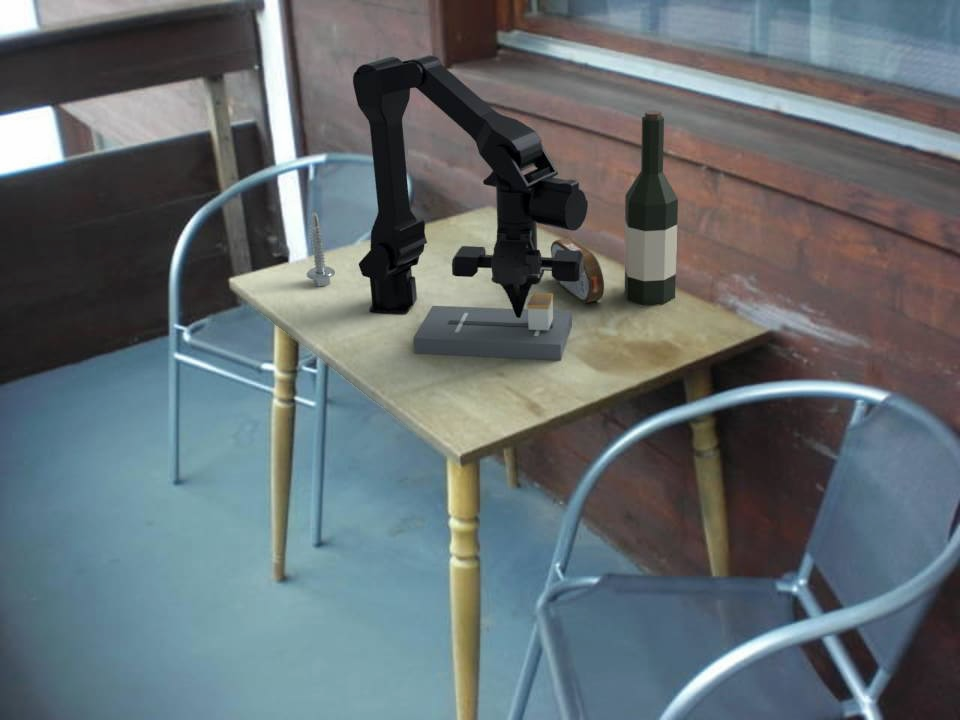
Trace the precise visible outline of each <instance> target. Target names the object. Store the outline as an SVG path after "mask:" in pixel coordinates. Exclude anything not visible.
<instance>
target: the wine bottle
mask: <svg viewBox="0 0 960 720" xmlns="http://www.w3.org/2000/svg"><path fill="white" fill-rule="evenodd" d="M664 132H665V117H664V116H663V115H662V112H661V110H655V109H654V110H652V109H651V110H647V111H645V112H644V116H642V117H641V153H640V154H641V155H640V156H641V159H640V166H641V167H640V169H641V170H640V172H639V173H638V175H637V176H636V178H635V179H634V181H633V183H632V184H631V186H630V187H629V189H628V190H627V192H626V193H625V196H624V197H625V203H624V204H625V206H624V208H625V210H624V212H625V213H624V214H625V215H624V216H625V217H624V223H625V224H624V228H625V229H624V296H625V298H626V301H627V302H631V303H635V304H637V305H641V306H655V305H657V304H660V305H665V304H667V303H669V302H670V301H672V300H674V299H676V281H677V280H676V279H677V276H676V275H677V246H678V245H677V243H678V214H679V213H678V209H679V206H678V205H679V197H677V194H676V193H675V191H674V189H673V188H672V185H671V184H670V182H669V180H668V178H667V177H666V175H665V173H664V171H663V170H664V145H665V144H664V143H665V142H664V138H665V137H664V136H665V134H664ZM673 298H674V299H673ZM671 299H672V300H671ZM668 301H669V302H668Z"/></svg>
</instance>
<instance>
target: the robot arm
mask: <svg viewBox="0 0 960 720" xmlns="http://www.w3.org/2000/svg"><path fill="white" fill-rule="evenodd" d="M352 85H353V89H354V94H355V99H356V102H357V107H359V110H360V111H361V112H362V113H363V115H364V117H365V118H366V119H367V121H368V123H369V130H370V132H369V134H370V141H371V150H372V151H371V152H372V153H371V154H372V164H373V172H374V182H375V183H374V184H375V190H376V202H377V215H376V218H375V220H374V222H373V225H372V228H371V231H370V250H369V251H368V252H367V253H366V254H365V256H364V257H363V258H362V259H361V260H360V261H359V262H358V267H359V269H360V272H361V276H363V277H366V278H369V283H370V284H369V285H370V293H371V294H370V296H371V305H370V307H369V308H368V310H369V312H370V313H387V314H388V313H389V314H391V313H392V314H408V313H409V311H410V310H411V309H412V307H413V306H414V305H415V303H416V302H417V299H418V296H417V285H416V284H417V283H416V277H415V276H414V275H413V273H412V271H413V270H412V268H413V267H414V266H416V265H418V263H419V260H420V256H421V255H422V253H424V250H425V244H427V243H428V240H427V237H426V231H425V230H426V222H425V221H424V219H423V218H422V219H418V218H417V217H416V215H415V214H414V212H413V211H412V210H411V208H410V207H411V206H410V195H409V184H408V173H407V172H408V171H407V162H406V150H405V139H404V138H405V137H404V128H403V117H404V115H405V112H406V109H407V107H408V104H409V101H410V98H411V89H417V90H418V91H419V92H420V93H421V94H423V96H425V97H426V98H427V99H428V100H430V102H432V103H433V105H435V106H436V107H437V108H438V109H440V111H442V112H443V113H444V114H446V116H448V117H449V119H451V121H453V122H454V123H455V124H456V125H458V126H459V127H460V128H461V129H462V130H463V131H465V132H466V133H467V134H468V135H469V136H470V137H471V138H472V139H473V141H474V142H475V144H476V147H477V148H476V149H477V150H478V154H479V155H480V157H481V158H482V159H483V160H484V162H486V164H487V165H488V167H490V169H491V170H492V172H490V174H489V175H488V176H487V177H486V178H484V179H483V181H482V182H483V185H484V186H490V187H494V188H495V189H496V191H495V192H496V225H497V230H496V241H495V244H494V247H493V253H492V254H486V253H487V251H486V247H485V246H473V245H471V246H470V245H469V246H468V245H467V246H466V245H462V246H460V248H459V249H458V250H457V251H456V253H455V255H454V256H453V258H452V261H451V273H452V276H454V277H464V278H473V277H474V276H475V275H476V274H477V273H478V272H479V268H480V269H481V268H482V269H491V275H492V277H491V281H492V282H493V283H494V284H496V285H500V286H501V287H502V288H503V290H504V292H505V294H506V295H507V297H508V300H509V302H510V305H511V307H512V309H513V310H514V312H515V315H516V317H517V318H520V317H521V315H522V312H523V309H524V308H525V305H526V302H527V300H528V296H529V292H530V291H531V290H530V289H531V288H532V286H534V285H539V284H540V283H541V280H542V278H543V276H544V273H545V272H551V277H552V278H553V279H555V281H557V282H558V281H568V282H576V281H579V280H580V277H581V274H582V271H583V268H584V256H583V254H582V253H581V252H580V251H572V250H557V251H556V254H555V256H554V258H552V257H551V256H550V257H547V256H545V257H543V256H542V253H541V251H540V249H538V224H539V225H542V226H543V225H544V226H548V227H554V228H557V229H558V228H559V229H562V230H567V231H573V232H574V231H577V230H579V228H581V226H582V225H583V224H584V221H585V219H586V216H587V214H588V213H587V212H588V206H589V203H588V199H587V197H586V195H585V192H584V191H583V190H581V189H580V182H579V181H578V180H576V179H575V180H574V179H562V178H557V176H558V175H559V171H558V169H557V168H556V166H555V165H554V162H553V161H552V160H551V157H550V156H549V154H548V153H547V151H546V150H545V148H544V145H543V144H542V138H541V137H540V135H539V133H538V132H537V131H536V130H534V129H533V128H531V127H529V125H527V124H525V123H523V122H521V121H520V120H518V119H516V118H513V117H510V116H507V115H503V114H501V113H500V112H498V111H496V110H494V108H492V107H491V106H490V105H489V104H488V103H487V102H485V101H484V100H483V99H482V98H480V97H479V96H478V95H477V94H476V93H475V92H474V91H473V90H472V89H471V88H469V87H468V86H466V84H464V83H463V82H462V81H461V80H460V79H459V78H458V77H456V76H455V75H454V74H453V73H452V72H451V71H449V69H447V68H446V67H445V66H444V65H443V62H442V61H441V59H440V58H438V57H437V56H433V55H426V56H425V55H424V56H422V57H418V58H413V59H408V60H401V59H400V58H398V57H395V56H388V57H384V58H381V59H378V60H375V61H371V62H368V63H364V64H362V65H360V66H358V68H356V71H355V72H353V75H352ZM532 167H535V169H534V170H532V171H529V172H528V173H527V172H526V173H525V174H523V171H525V170H528V169H530V168H532Z"/></svg>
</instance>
